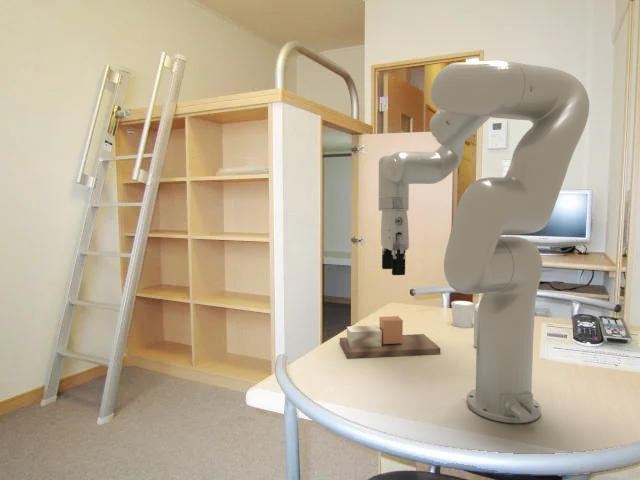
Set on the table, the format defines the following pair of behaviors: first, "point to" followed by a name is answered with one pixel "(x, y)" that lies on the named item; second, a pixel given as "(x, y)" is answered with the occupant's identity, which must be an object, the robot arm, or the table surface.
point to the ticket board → (370, 344)
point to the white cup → (462, 313)
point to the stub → (391, 329)
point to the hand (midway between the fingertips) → (393, 271)
